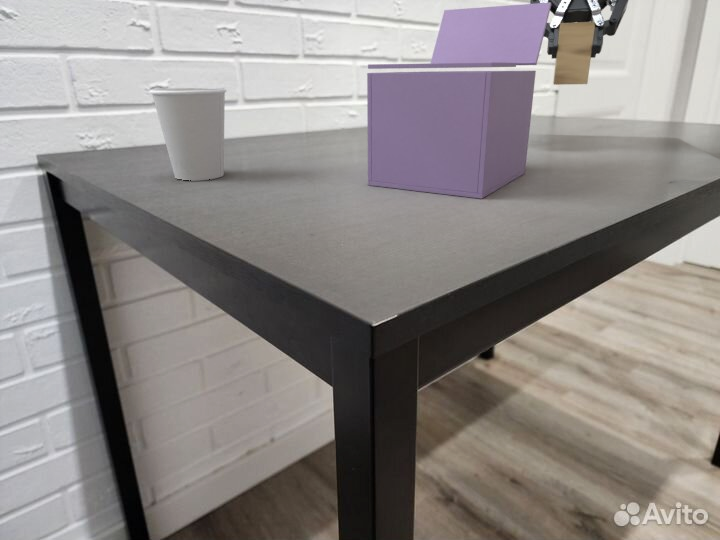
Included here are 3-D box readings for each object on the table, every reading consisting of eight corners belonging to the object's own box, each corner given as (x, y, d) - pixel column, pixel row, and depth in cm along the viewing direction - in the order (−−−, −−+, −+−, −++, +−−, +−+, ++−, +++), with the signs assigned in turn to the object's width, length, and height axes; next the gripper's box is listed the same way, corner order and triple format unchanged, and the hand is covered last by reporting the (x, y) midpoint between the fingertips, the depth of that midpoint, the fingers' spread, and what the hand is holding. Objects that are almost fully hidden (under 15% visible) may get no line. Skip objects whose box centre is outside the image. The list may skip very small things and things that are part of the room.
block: (553, 83, 78) (559, 25, 75) (585, 83, 77) (592, 23, 74) (553, 84, 74) (560, 23, 71) (587, 84, 73) (595, 21, 70)
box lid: (429, 64, 63) (430, 66, 64) (535, 63, 57) (536, 65, 57) (444, 9, 64) (445, 11, 64) (551, 2, 58) (551, 4, 58)
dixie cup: (189, 168, 67) (178, 87, 63) (246, 171, 65) (239, 87, 61) (147, 181, 59) (132, 90, 56) (211, 184, 57) (200, 90, 54)
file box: (426, 164, 68) (430, 64, 64) (525, 173, 62) (536, 62, 57) (367, 185, 56) (366, 64, 52) (482, 199, 50) (492, 62, 45)
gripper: (532, -50, 77) (522, 33, 71) (638, -59, 73) (637, 29, 67) (529, -6, 84) (520, 74, 77) (626, -12, 79) (624, 72, 73)
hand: (574, 53), depth 72 cm, fingers closed on block, 4 cm apart
